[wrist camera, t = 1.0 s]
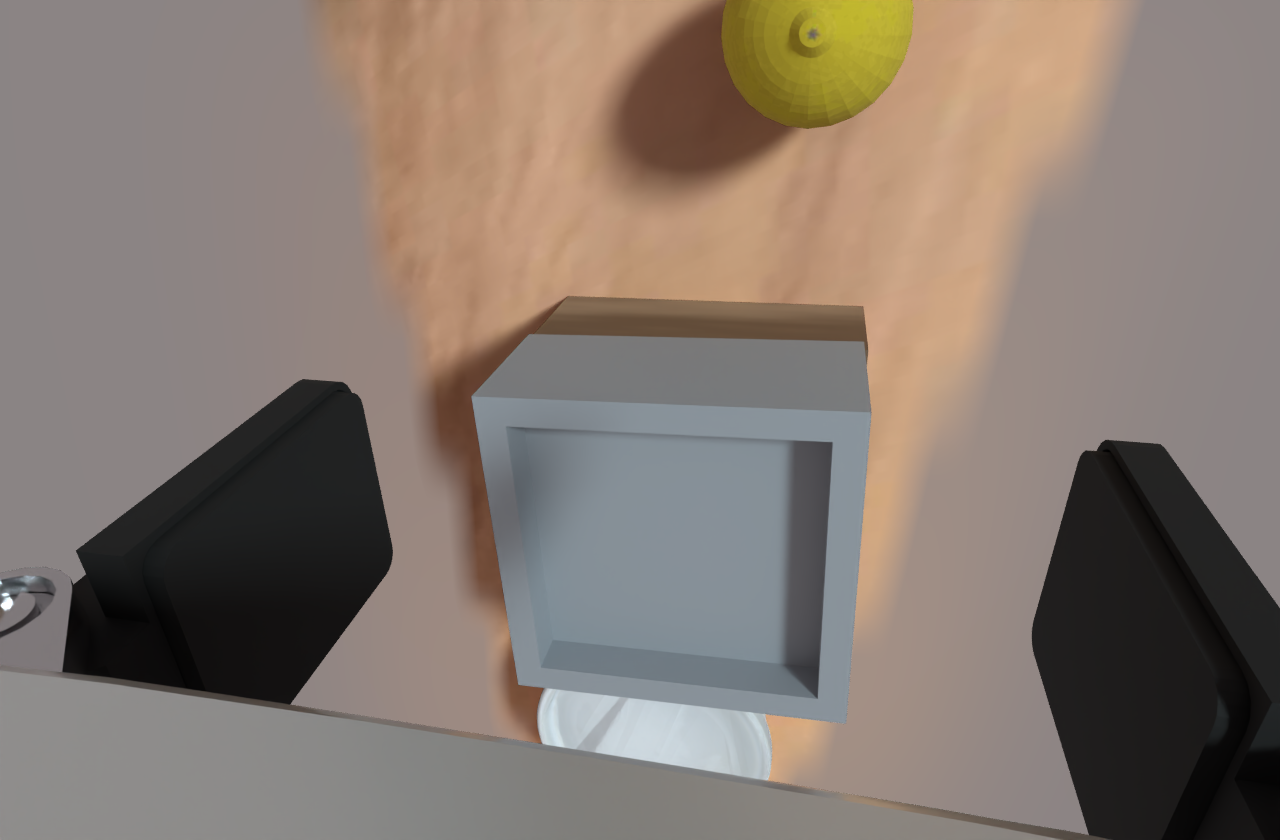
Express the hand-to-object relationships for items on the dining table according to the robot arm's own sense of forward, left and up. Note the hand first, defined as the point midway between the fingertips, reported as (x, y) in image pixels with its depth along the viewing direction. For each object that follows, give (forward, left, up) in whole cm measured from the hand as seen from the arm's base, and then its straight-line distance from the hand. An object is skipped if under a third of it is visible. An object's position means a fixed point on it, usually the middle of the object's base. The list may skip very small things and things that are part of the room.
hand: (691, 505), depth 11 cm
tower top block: (+10, -3, -18) cm, 21 cm away
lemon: (-5, +1, -22) cm, 23 cm away
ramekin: (+25, -4, -23) cm, 34 cm away
